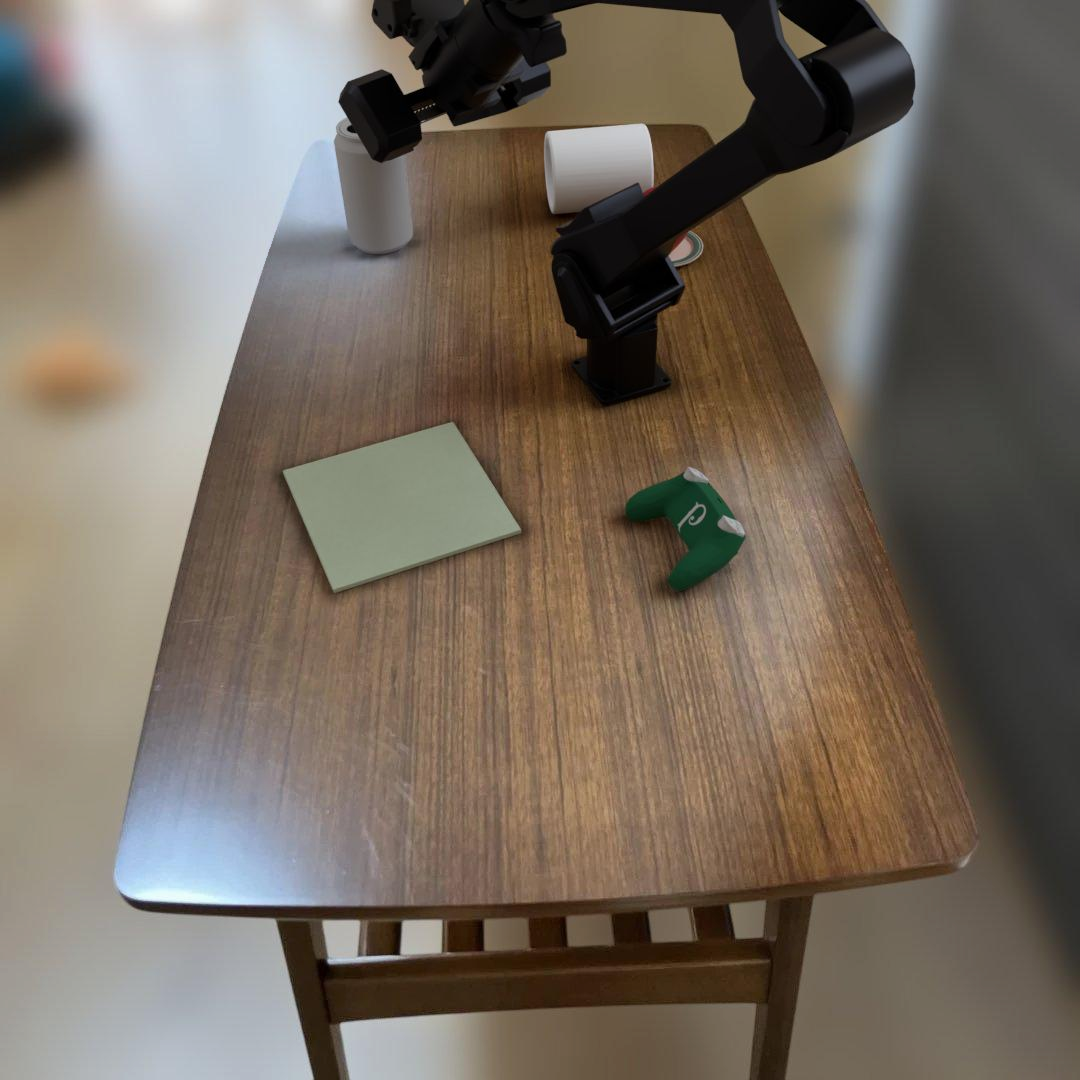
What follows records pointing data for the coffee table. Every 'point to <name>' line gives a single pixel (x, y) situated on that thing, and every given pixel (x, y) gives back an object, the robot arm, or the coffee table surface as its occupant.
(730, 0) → the robot arm
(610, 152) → the mug
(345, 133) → the beverage can
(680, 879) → the coffee table surface
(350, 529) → the felt mat
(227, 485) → the coffee table surface
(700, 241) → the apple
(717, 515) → the gaming controller
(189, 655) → the coffee table surface
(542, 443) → the coffee table surface
